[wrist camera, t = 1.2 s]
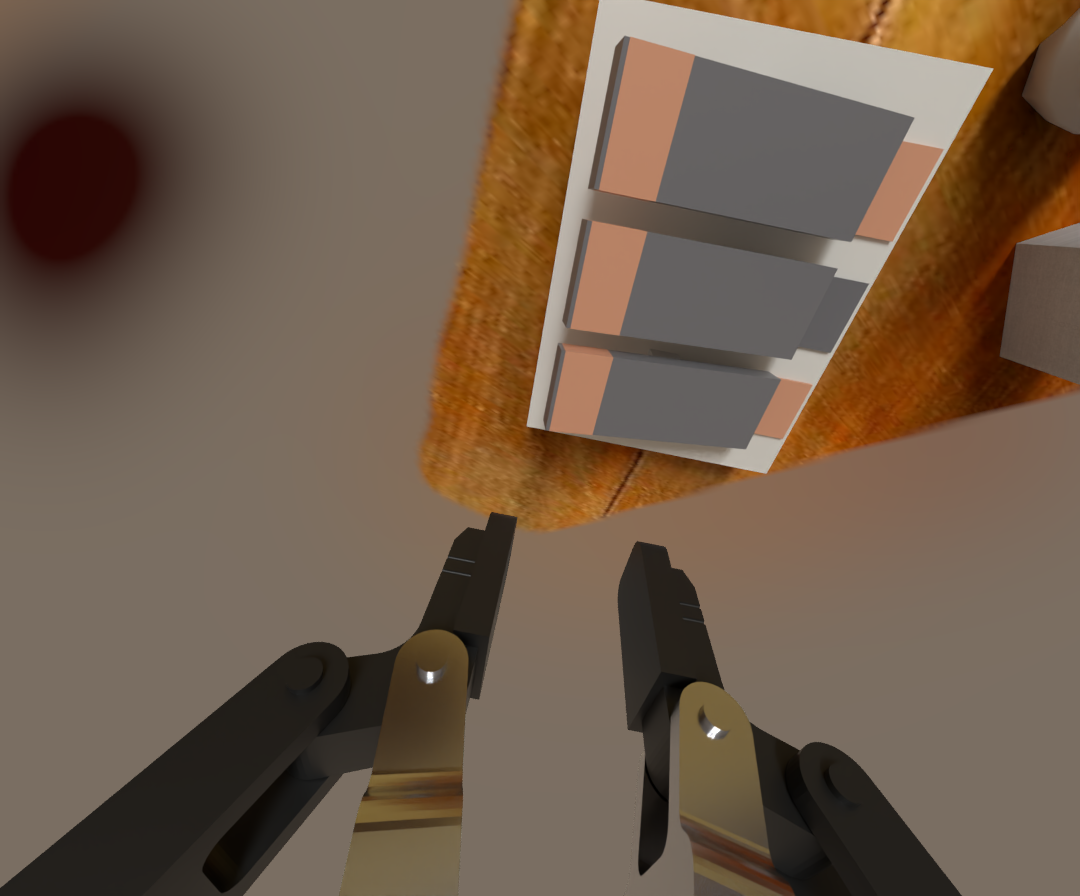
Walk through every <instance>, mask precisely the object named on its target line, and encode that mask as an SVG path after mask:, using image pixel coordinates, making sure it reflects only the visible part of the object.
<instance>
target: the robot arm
mask: <svg viewBox="0 0 1080 896" xmlns="http://www.w3.org/2000/svg"><path fill="white" fill-rule="evenodd" d="M516 522H517V517H514V516H509V515H504V514H499V513H494V512H491V514H490V517H489V520H488V523H487V526H486V530H485V531H484V530H479V529H474V528H469V527H468V528H467V529H466V530H465V531H463V532H462V533H461V534H460V535H459V536H458V537H457V538H456V539H455V540H454V542H453V545H452V547H451V550H450V552H449V555H448V558H447V560H446V562H445V565H444V567H443V570H442V572H441V574H440V577H439V579H438V582H437V584H436V587H435V589H434V592H433V594H432V597H431V599H430V602H429V604H428V607H427V609H426V611H425V614H424V616H423V619H422V622H421V624H420V626H419V628H418V629H417V631H416V632H415V633H414V634H413V636H412V637H411V638H410V639H409V640H407V641H406V642H405V643H404V644H402V645H400V646H399V647H397V648H394V649H393V650H390V651H387V652H383V653H378V654H371V655H363V656H355V657H346V655H345V654H344V652H343V651H342V650H341V649H340V648H339V647H337V646H335V645H333V644H330V643H325V642H313V643H307V644H304V645H301V646H298V647H296V648H294V649H292V650H290V651H289V652H287V653H285V654H284V655H283V656H281V657H280V658H279V659H278V660H277V661H275V662H274V663H273V664H271V665H270V666H269V667H268V668H267V669H265V670H264V671H263V672H262V673H261V674H259V675H258V676H257V677H256V678H255V679H253V680H252V681H251V682H250V683H248V684H247V685H246V686H245V687H244V688H242V689H241V690H240V691H239V692H238V693H236V694H235V695H234V696H233V697H231V698H230V699H229V700H228V701H227V702H225V703H224V704H223V705H222V706H221V707H219V708H218V709H217V710H216V711H215V712H213V713H212V714H211V715H210V716H208V717H207V718H206V719H205V720H204V721H202V722H201V723H200V724H199V725H198V726H196V727H195V728H194V729H193V730H191V731H190V732H189V733H188V734H187V735H185V736H184V737H183V738H182V739H181V740H179V741H178V742H177V743H176V744H175V745H173V746H172V747H171V748H170V749H168V750H167V751H166V752H165V753H164V754H162V755H161V756H160V757H159V758H157V759H156V760H155V761H154V762H153V763H151V764H150V765H149V766H148V767H147V768H146V769H144V770H143V771H142V772H141V773H139V774H138V775H137V776H136V777H134V778H133V779H132V780H131V781H130V782H128V783H127V784H126V785H125V786H124V787H122V788H121V789H120V790H119V791H117V792H116V793H115V794H114V795H113V796H111V797H110V798H109V799H108V800H107V801H105V802H104V803H103V804H102V805H101V806H99V807H98V808H97V809H96V810H95V811H93V812H92V813H91V814H90V815H88V816H87V817H86V818H85V819H84V820H82V821H81V822H80V823H79V824H77V825H76V826H75V827H74V828H73V829H71V830H70V831H69V832H68V833H67V834H66V835H64V836H63V837H62V838H61V839H59V840H58V841H57V842H56V843H55V844H54V845H52V846H51V847H50V848H49V849H47V850H46V851H45V852H44V853H42V854H41V855H40V856H39V857H37V858H36V859H35V860H34V861H33V862H31V863H30V864H29V865H28V866H27V867H25V868H24V869H23V870H22V871H20V872H19V873H18V874H17V875H16V876H14V877H13V878H12V879H11V880H10V881H8V882H7V883H6V884H5V885H4V886H2V887H1V888H0V896H243V895H244V894H245V893H246V891H247V890H248V889H249V888H250V886H251V885H252V884H253V883H254V882H255V880H256V879H257V878H258V877H259V876H260V874H261V873H262V871H264V869H265V868H266V867H267V866H268V865H269V863H270V862H271V861H272V860H273V858H274V857H275V856H276V855H277V854H278V852H279V851H280V850H281V849H282V847H283V846H284V845H285V844H286V843H287V842H288V840H289V839H290V838H291V837H292V835H293V834H294V833H295V832H296V831H297V829H298V828H299V827H300V826H301V824H302V823H303V822H304V821H305V820H306V818H307V817H308V816H309V815H310V814H311V812H312V811H313V810H314V809H315V807H316V806H317V805H318V804H319V803H320V801H321V800H322V799H323V798H324V797H325V795H326V794H327V793H328V792H329V790H330V789H331V788H332V787H333V786H334V784H335V783H336V782H337V781H338V780H339V778H340V777H341V776H342V774H343V773H347V772H352V771H357V770H361V769H367V768H372V767H373V768H372V774H371V777H370V781H369V785H368V788H367V791H366V792H365V793H364V795H363V797H362V800H361V803H360V806H359V810H358V813H357V817H356V821H355V825H354V829H353V834H352V839H351V843H350V847H349V852H348V857H347V861H346V866H345V870H344V875H343V879H342V884H341V888H340V893H339V896H458V891H459V890H458V889H459V871H460V850H461V829H462V808H463V788H462V775H463V756H464V736H465V717H466V711H467V707H468V703H469V699H470V698H474V699H479V697H480V693H481V688H482V683H483V679H484V675H485V670H486V666H487V661H488V657H489V652H490V648H491V643H492V638H493V634H494V630H495V625H496V621H497V615H498V612H499V607H500V603H501V598H502V594H503V589H504V585H505V580H506V576H507V571H508V566H509V560H510V556H511V550H512V544H513V539H514V533H515V528H516ZM699 607H700V604H699V601H698V598H697V594H696V591H695V587H694V586H693V584H692V583H691V582H690V580H689V579H688V578H687V576H686V575H685V573H684V572H683V570H679V569H674V568H671V565H670V560H669V556H668V552H667V549H666V548H665V547H664V546H659V545H654V544H649V543H644V542H638V541H637V542H636V543H635V545H634V547H633V549H632V552H631V554H630V557H629V559H628V562H627V565H626V567H625V570H624V572H623V575H622V577H621V580H620V584H619V590H618V611H619V624H620V636H621V649H622V661H623V675H624V687H625V700H626V713H627V725H628V730H632V731H637V732H642V733H643V738H644V747H645V750H644V751H643V753H642V755H641V757H640V760H639V766H638V778H637V790H636V802H635V815H634V828H633V840H632V853H631V864H630V873H629V879H628V884H627V887H626V891H625V893H624V896H962V895H961V894H960V893H959V892H958V890H957V889H956V888H955V886H954V885H953V884H952V883H951V881H950V880H949V879H948V877H947V876H946V875H945V874H944V872H943V871H942V870H941V868H940V867H939V866H938V865H937V863H936V862H935V861H934V859H933V858H932V857H931V856H930V854H929V853H928V852H927V851H926V849H925V848H924V847H923V845H922V844H921V843H920V842H919V840H918V839H917V838H916V837H915V835H914V834H913V833H912V831H911V830H910V829H909V828H908V826H907V825H906V824H905V822H904V821H903V820H902V819H901V817H900V816H899V815H898V813H897V812H896V811H895V810H894V808H893V807H892V806H891V804H890V803H889V802H888V801H887V799H886V798H885V797H884V795H883V794H882V793H881V792H880V790H879V789H878V788H877V787H876V785H875V784H874V783H873V782H872V780H871V779H870V778H869V776H868V775H867V774H866V773H865V772H864V770H863V769H862V768H861V767H860V766H859V765H858V764H857V763H856V762H855V761H854V760H853V759H851V758H850V757H849V756H848V755H846V754H845V753H843V752H842V751H840V750H839V749H837V748H835V747H833V746H830V745H828V744H825V743H821V742H813V743H810V744H807V745H806V746H805V747H803V748H802V749H801V750H798V749H796V748H794V747H792V746H791V745H789V744H787V743H785V742H783V741H781V740H779V739H777V738H775V737H773V736H772V735H770V734H768V733H766V732H764V731H763V730H761V729H759V728H758V727H756V726H755V725H753V724H752V723H750V722H749V720H748V718H747V716H746V714H745V712H744V711H743V709H742V707H741V706H740V705H739V704H738V703H737V701H736V700H735V699H734V698H733V697H732V696H731V695H730V694H728V693H727V692H726V691H725V690H724V687H723V684H722V682H721V678H720V674H719V671H718V668H717V664H716V660H715V657H714V653H713V650H712V646H711V643H710V639H709V636H708V633H707V629H706V626H705V625H704V618H703V615H702V611H701V609H699Z"/></svg>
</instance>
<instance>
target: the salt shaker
mask: <svg viewBox="0 0 1080 896" xmlns="http://www.w3.org/2000/svg"><path fill="white" fill-rule="evenodd" d="M1022 97H1023V98H1024V99H1025V100H1026V101H1027V102H1028V103H1029V104H1030V105H1031V106H1032V107H1033V108H1034V109H1035V110H1036V111H1037V112H1038V113H1039V114H1040V115H1041V116H1042V117H1043V118H1044V119H1045V120H1046V121H1048V122H1050V123H1052V124H1054V125H1056V126H1058V127H1060V128H1062V129H1064V130H1066V131H1069V132H1071V133H1073V134H1080V8H1079V9H1078V10H1077V11H1076V12H1075V13H1074V15H1073V16H1072V17H1071V18H1070V19H1069V20H1068V21H1067V22H1066V23H1065V24H1064V25H1062V26H1061V27H1060V28H1059V29H1058V30H1056V31H1055V32H1054V33H1053V34H1052V35H1050V36H1049V37H1048V38H1047V39H1046V40H1044V41H1043V42H1042V43H1041V44H1040V45H1039V48H1038V50H1037V53H1036V56H1035V59H1034V62H1033V65H1032V68H1031V70H1030V73H1029V76H1028V79H1027V82H1026V85H1025V87H1024V90H1023V93H1022Z"/></svg>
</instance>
